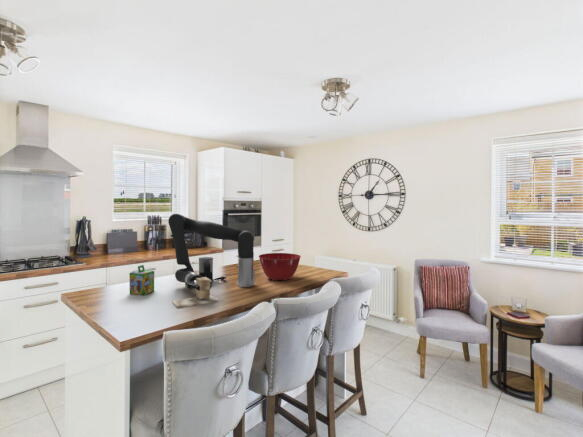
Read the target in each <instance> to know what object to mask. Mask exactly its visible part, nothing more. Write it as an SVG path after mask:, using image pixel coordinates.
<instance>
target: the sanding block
mask: <svg viewBox="0 0 583 437" xmlns="http://www.w3.org/2000/svg"><path fill="white" fill-rule="evenodd" d="M196 284H197V285H199V286H200V290H199V291H198V290H196V289H195V297H196V298H197V299H199V300H200V301H201V300H207V299H210V295H211V289H210V279H208V278H207V277H201V278H196Z"/></svg>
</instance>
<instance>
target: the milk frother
mask: <svg viewBox="0 0 583 437" xmlns="http://www.w3.org/2000/svg"><path fill="white" fill-rule="evenodd" d="M213 269H214V257H212V256H211V257H210V256H209V257H208V256H204V257H198V275H200V276H201V277H207V278H208V279H211V281H212V282H214V281H225V279H227V276H220V277H217V278H214V274H213V273H214V272H213V271H214V270H213Z"/></svg>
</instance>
